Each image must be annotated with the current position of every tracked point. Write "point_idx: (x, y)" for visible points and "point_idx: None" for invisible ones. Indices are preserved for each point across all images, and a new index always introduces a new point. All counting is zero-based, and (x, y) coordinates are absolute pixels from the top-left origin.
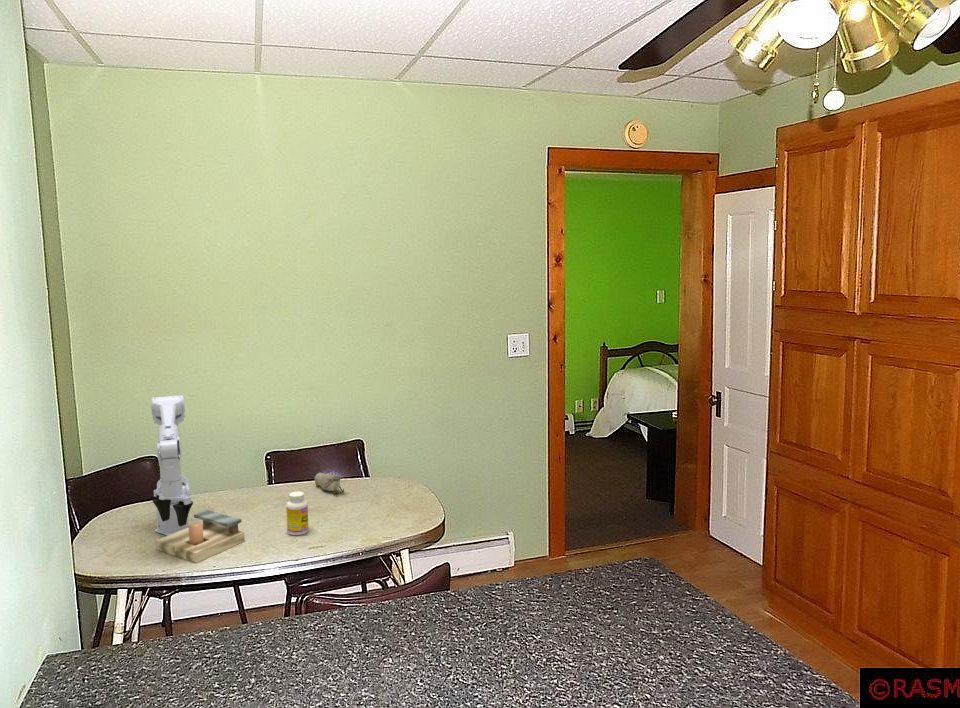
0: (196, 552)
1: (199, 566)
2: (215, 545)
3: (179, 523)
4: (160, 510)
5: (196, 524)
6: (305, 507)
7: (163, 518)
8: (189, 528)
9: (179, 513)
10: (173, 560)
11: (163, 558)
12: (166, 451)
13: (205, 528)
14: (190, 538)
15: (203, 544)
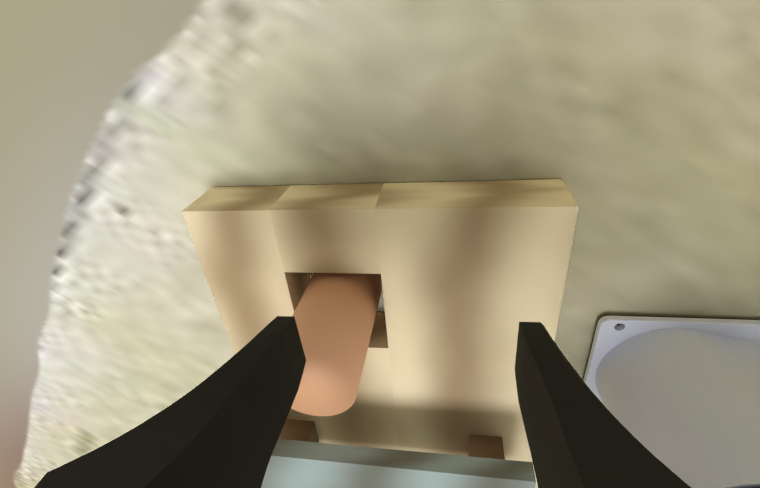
0: (189, 219)
1: (163, 170)
2: (225, 318)
3: (262, 332)
4: (557, 418)
5: (322, 397)
6: None
7: (523, 346)
8: (310, 346)
9: (149, 420)
10: (334, 139)
11: (409, 122)
12: None
13: (448, 413)
14: (326, 297)
15: (268, 299)
